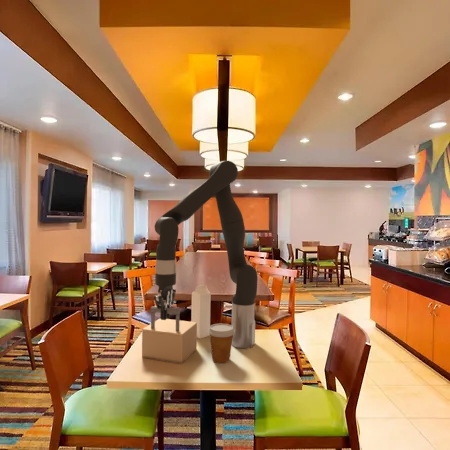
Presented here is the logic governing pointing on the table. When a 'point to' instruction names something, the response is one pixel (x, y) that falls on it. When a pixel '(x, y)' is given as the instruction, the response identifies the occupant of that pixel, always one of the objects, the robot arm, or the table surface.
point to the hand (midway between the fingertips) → (165, 318)
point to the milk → (201, 310)
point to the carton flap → (169, 323)
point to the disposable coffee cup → (221, 342)
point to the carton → (169, 346)
